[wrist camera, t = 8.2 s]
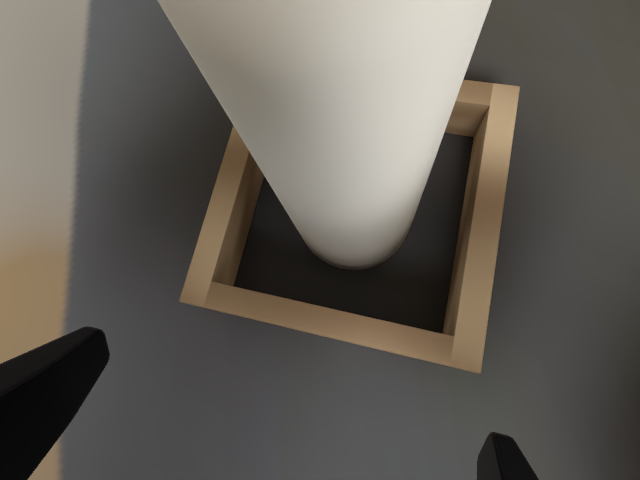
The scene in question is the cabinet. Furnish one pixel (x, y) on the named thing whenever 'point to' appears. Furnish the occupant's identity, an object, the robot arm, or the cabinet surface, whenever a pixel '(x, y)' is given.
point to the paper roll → (337, 104)
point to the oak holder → (447, 348)
